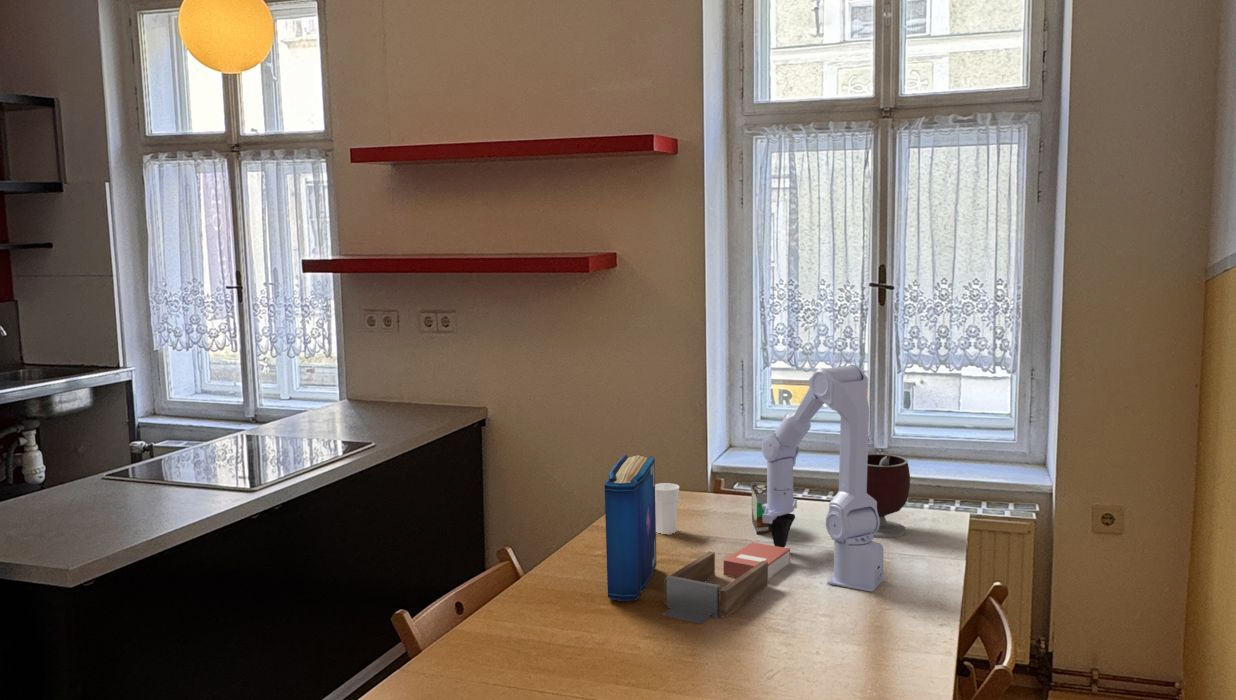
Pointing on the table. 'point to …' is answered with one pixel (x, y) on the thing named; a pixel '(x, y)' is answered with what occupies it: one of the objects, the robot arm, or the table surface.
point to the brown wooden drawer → (734, 591)
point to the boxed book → (756, 559)
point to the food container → (759, 507)
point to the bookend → (692, 599)
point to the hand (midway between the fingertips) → (780, 546)
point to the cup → (666, 507)
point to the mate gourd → (888, 489)
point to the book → (630, 527)
